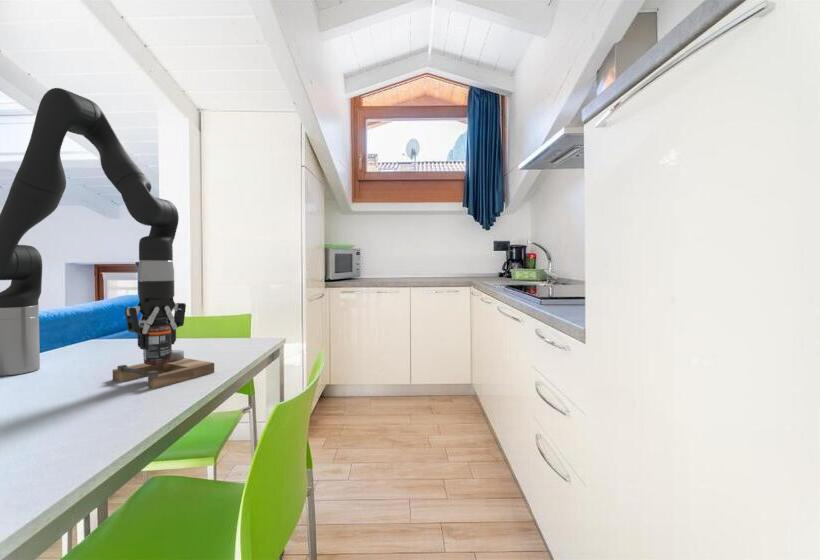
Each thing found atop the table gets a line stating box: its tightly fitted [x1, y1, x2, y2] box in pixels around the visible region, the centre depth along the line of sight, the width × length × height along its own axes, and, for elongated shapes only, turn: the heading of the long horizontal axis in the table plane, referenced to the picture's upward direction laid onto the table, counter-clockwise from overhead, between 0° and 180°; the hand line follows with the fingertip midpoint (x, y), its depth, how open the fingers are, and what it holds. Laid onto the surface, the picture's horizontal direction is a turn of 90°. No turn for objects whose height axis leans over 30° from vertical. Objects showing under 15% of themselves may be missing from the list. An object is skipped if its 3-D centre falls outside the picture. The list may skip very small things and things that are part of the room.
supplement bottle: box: [142, 317, 173, 365], centre depth 99 cm, size 6×6×11 cm
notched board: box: [111, 357, 215, 390], centre depth 102 cm, size 16×16×4 cm
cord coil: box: [171, 349, 185, 361], centre depth 109 cm, size 5×5×2 cm
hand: (157, 346), depth 99 cm, fingers closed on supplement bottle, 6 cm apart
